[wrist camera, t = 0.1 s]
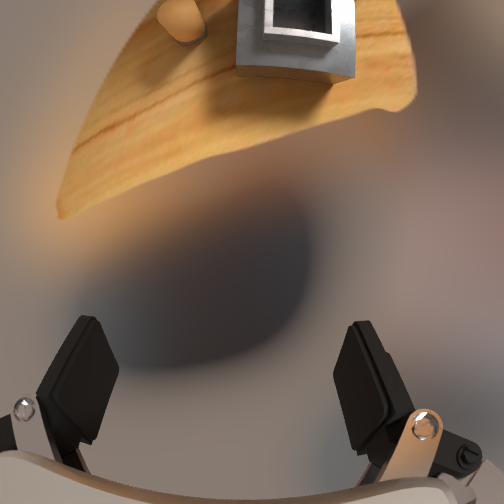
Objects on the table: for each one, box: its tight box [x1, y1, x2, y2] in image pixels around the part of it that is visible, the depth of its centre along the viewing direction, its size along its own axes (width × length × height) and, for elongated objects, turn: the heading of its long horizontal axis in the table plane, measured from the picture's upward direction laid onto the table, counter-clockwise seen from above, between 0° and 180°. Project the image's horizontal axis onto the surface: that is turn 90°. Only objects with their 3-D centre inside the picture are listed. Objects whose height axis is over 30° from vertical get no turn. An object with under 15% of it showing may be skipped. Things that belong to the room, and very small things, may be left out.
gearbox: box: [236, 0, 355, 84], centre depth 23 cm, size 14×13×10 cm
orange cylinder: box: [157, 0, 207, 47], centre depth 23 cm, size 4×4×9 cm
